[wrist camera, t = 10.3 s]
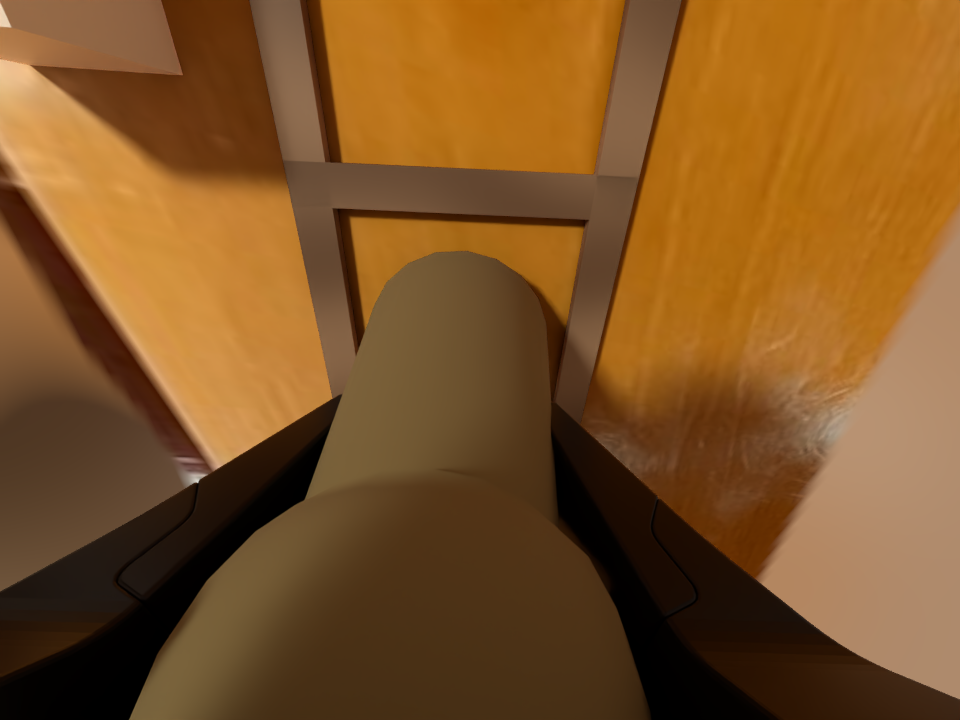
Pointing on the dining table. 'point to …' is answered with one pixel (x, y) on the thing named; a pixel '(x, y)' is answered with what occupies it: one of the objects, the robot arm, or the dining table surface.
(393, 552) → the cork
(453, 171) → the three-pane window frame
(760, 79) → the dining table surface
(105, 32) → the die
